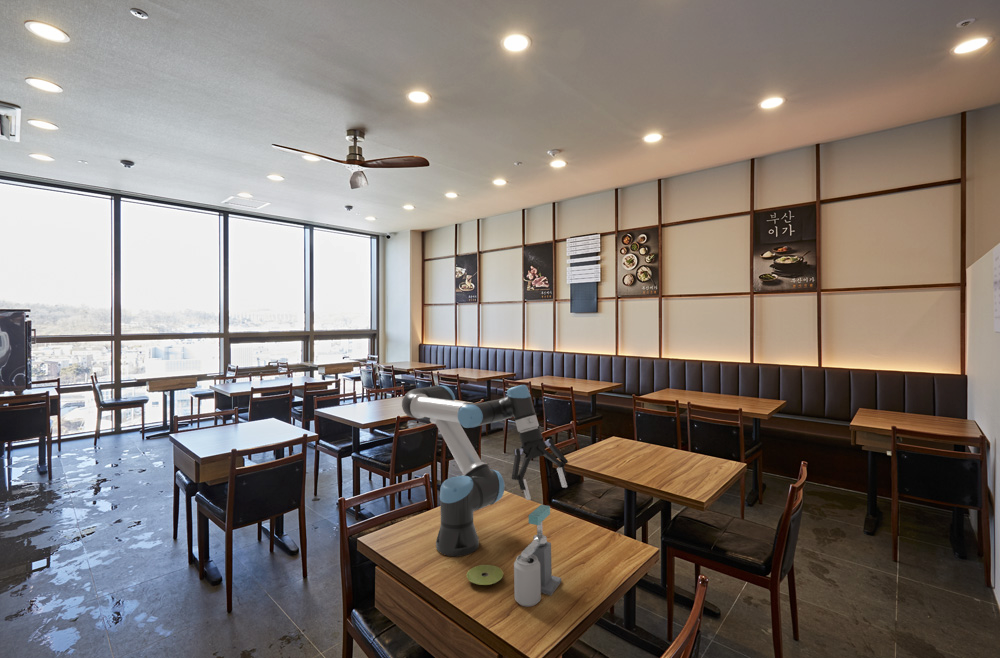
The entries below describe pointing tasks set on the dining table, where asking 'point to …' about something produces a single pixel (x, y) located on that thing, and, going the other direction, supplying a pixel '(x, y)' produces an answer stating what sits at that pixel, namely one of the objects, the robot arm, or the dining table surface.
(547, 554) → the grey pedestal post
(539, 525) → the teal grip latch lever
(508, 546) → the dining table surface
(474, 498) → the robot arm
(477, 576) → the mat
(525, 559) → the can
